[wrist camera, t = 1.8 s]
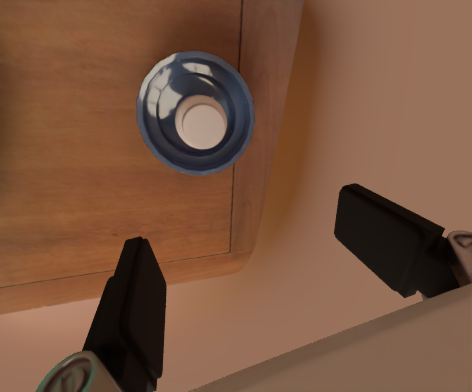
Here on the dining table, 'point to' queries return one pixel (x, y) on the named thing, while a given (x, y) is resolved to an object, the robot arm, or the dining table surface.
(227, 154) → the bowl
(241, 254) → the dining table surface
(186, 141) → the pill bottle
